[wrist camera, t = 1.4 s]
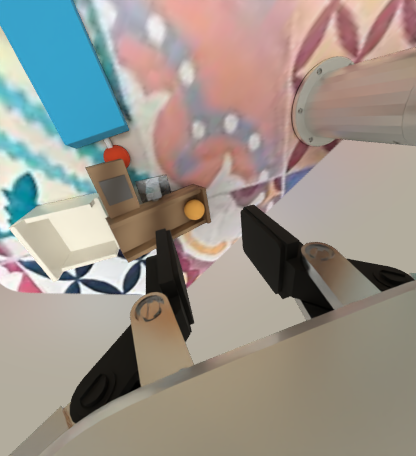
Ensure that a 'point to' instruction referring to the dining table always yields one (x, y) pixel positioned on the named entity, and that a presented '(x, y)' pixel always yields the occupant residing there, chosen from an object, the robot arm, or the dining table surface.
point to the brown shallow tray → (142, 209)
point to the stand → (153, 188)
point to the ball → (194, 209)
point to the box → (67, 234)
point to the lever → (65, 72)
